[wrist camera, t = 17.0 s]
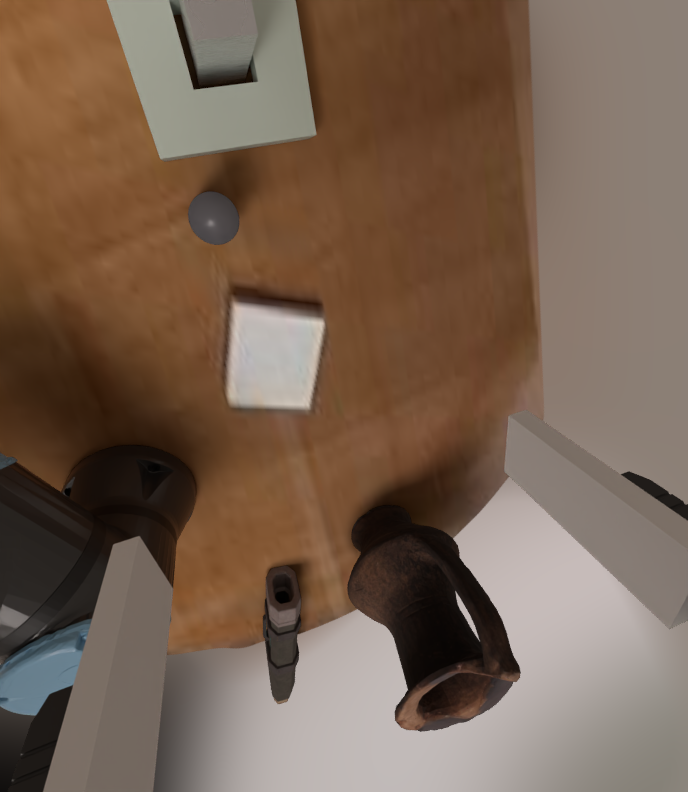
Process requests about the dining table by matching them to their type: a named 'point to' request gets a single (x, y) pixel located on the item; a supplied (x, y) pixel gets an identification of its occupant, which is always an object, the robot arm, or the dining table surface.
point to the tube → (282, 630)
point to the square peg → (219, 38)
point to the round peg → (213, 218)
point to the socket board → (218, 106)
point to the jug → (430, 620)
